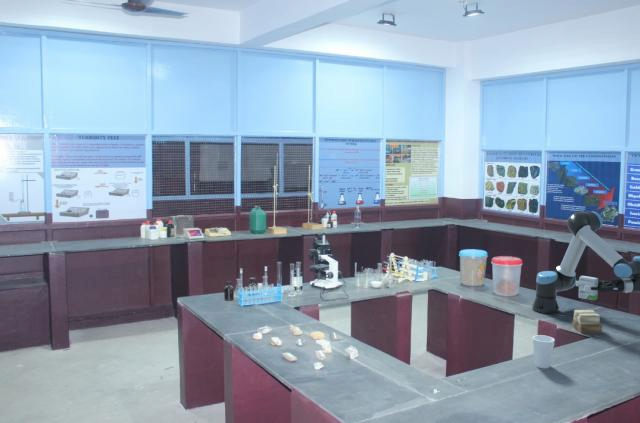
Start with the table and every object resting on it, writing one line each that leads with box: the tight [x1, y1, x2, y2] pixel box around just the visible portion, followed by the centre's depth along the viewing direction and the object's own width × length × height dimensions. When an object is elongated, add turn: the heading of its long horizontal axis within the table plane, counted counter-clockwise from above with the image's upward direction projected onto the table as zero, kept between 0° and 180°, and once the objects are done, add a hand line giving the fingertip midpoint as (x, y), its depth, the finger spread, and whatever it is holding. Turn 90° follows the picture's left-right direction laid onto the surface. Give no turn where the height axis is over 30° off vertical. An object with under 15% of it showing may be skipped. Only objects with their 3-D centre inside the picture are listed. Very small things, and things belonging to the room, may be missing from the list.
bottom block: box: [571, 317, 603, 334], centre depth 310 cm, size 11×11×5 cm
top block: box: [573, 309, 601, 325], centre depth 309 cm, size 10×10×5 cm
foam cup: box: [532, 334, 555, 369], centre depth 261 cm, size 10×9×13 cm
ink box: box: [578, 275, 599, 301], centre depth 307 cm, size 9×5×12 cm, turn 43°
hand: (580, 285), depth 307 cm, fingers closed on ink box, 9 cm apart
